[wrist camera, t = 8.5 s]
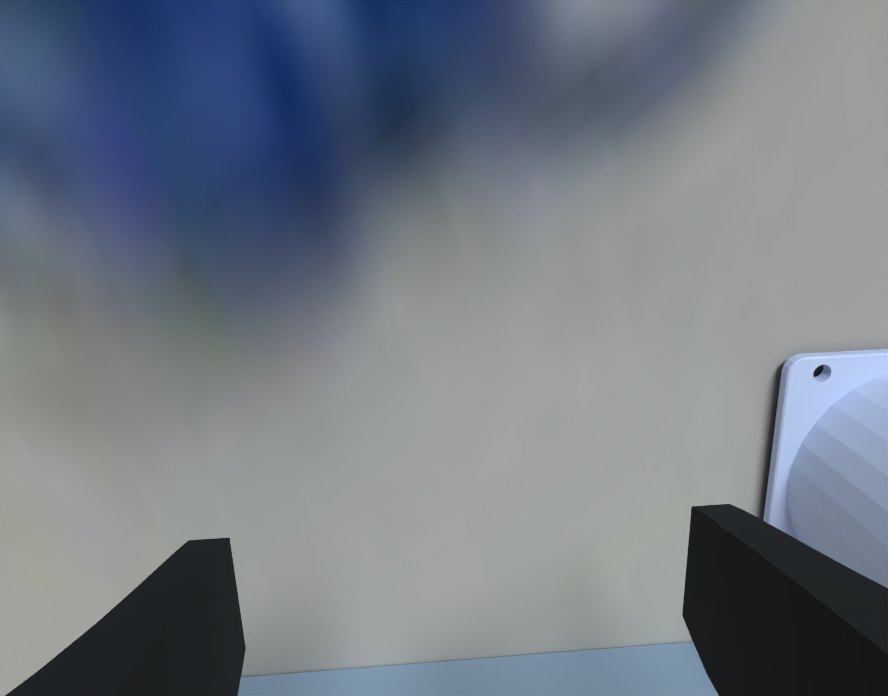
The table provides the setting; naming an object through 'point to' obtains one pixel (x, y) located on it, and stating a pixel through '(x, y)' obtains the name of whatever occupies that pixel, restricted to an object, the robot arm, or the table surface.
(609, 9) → the table surface
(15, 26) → the table surface
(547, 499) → the table surface
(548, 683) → the control panel
